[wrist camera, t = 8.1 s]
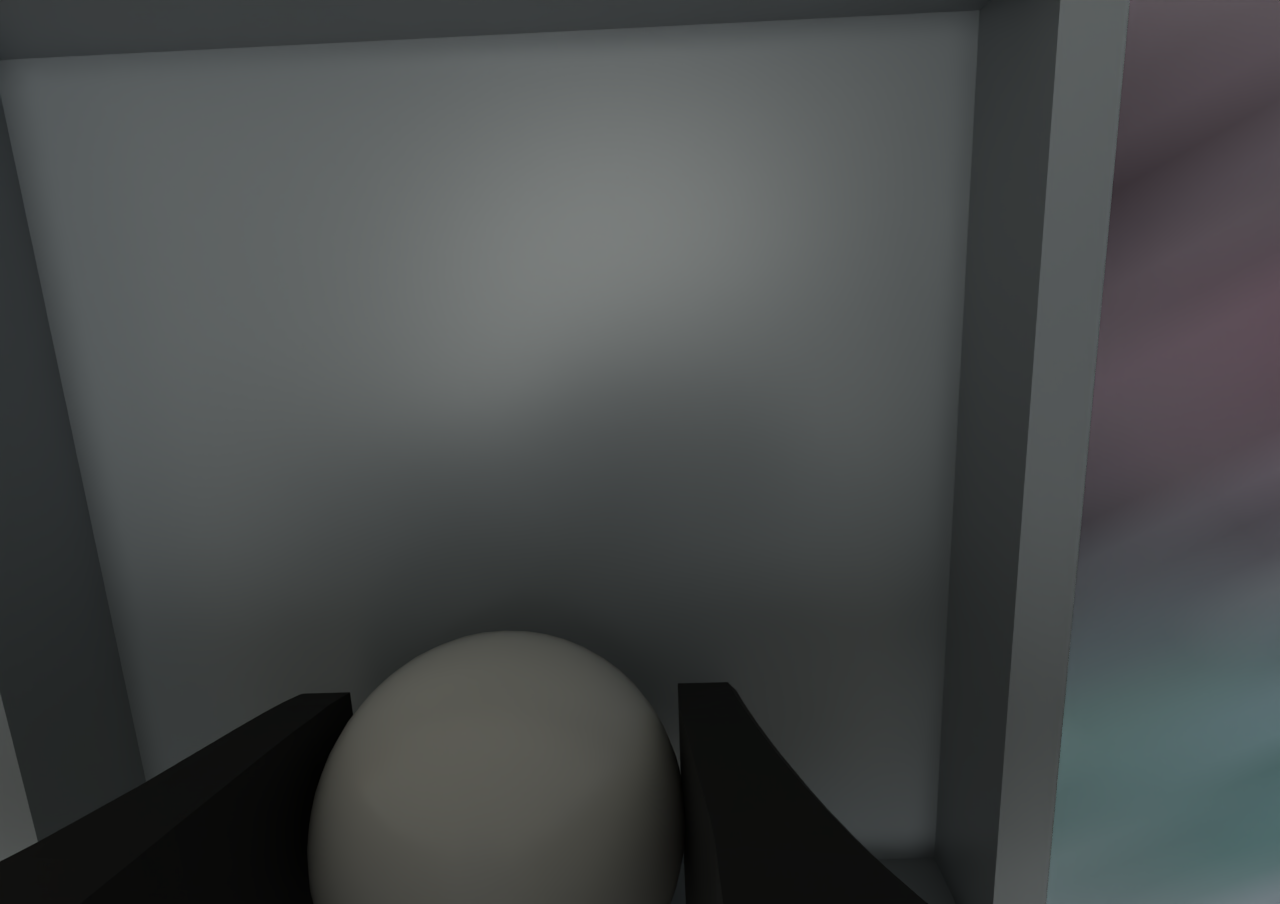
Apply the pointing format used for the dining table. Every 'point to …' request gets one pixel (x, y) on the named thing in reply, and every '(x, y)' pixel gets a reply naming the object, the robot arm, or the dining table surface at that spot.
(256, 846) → the robot arm
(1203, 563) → the dining table surface
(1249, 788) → the dining table surface
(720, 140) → the parts tray
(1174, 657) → the dining table surface
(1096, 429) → the dining table surface
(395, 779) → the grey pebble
